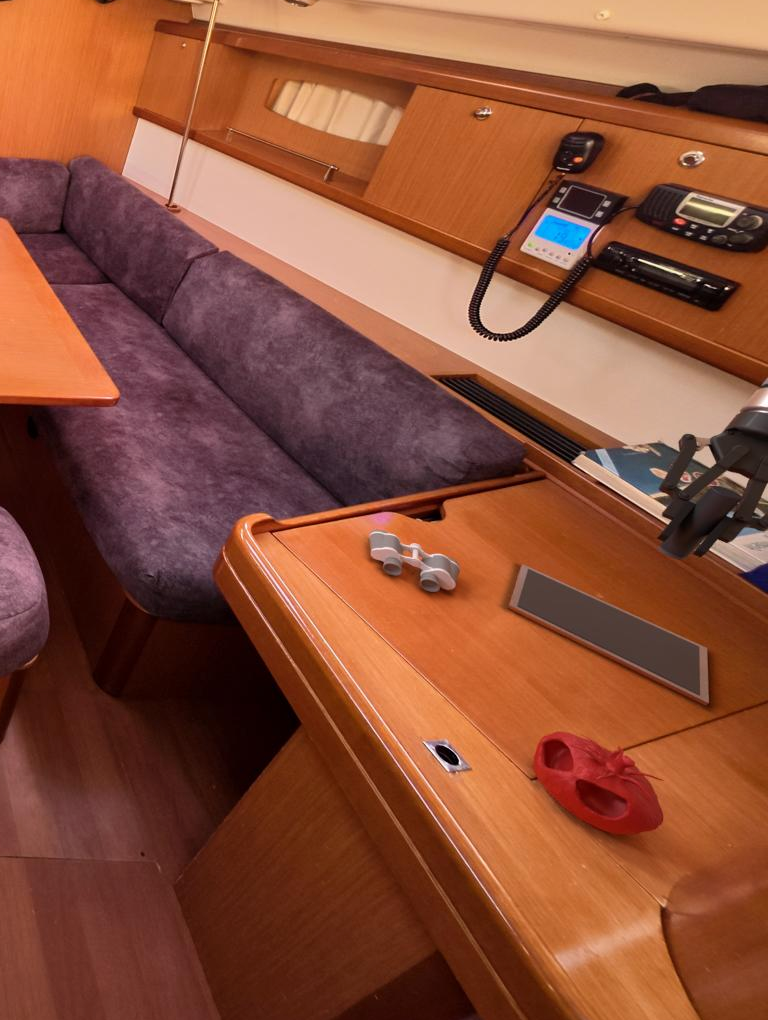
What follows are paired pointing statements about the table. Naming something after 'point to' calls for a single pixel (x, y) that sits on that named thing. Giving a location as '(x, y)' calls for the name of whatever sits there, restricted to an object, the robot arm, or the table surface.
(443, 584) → the binoculars
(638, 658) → the tablet
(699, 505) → the dark gray cylinder
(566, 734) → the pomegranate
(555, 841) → the table surface
